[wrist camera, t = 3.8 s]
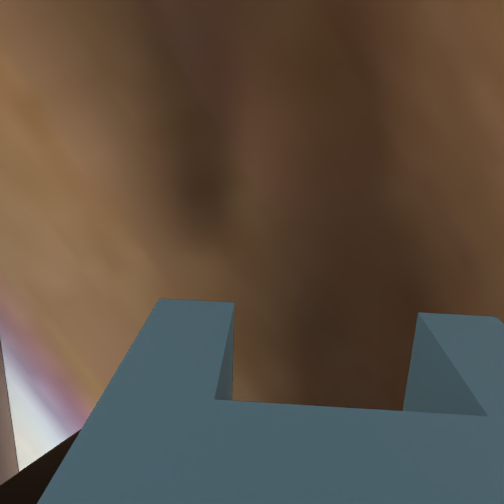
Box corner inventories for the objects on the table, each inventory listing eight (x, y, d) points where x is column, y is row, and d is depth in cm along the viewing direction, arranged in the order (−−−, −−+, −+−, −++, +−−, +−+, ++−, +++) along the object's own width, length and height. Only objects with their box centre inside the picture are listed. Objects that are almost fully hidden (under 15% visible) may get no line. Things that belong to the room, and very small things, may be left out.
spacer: (496, 316, 9) (756, 569, 4) (460, 481, 10) (629, 829, 5) (159, 298, 9) (28, 517, 4) (163, 461, 11) (64, 777, 6)
